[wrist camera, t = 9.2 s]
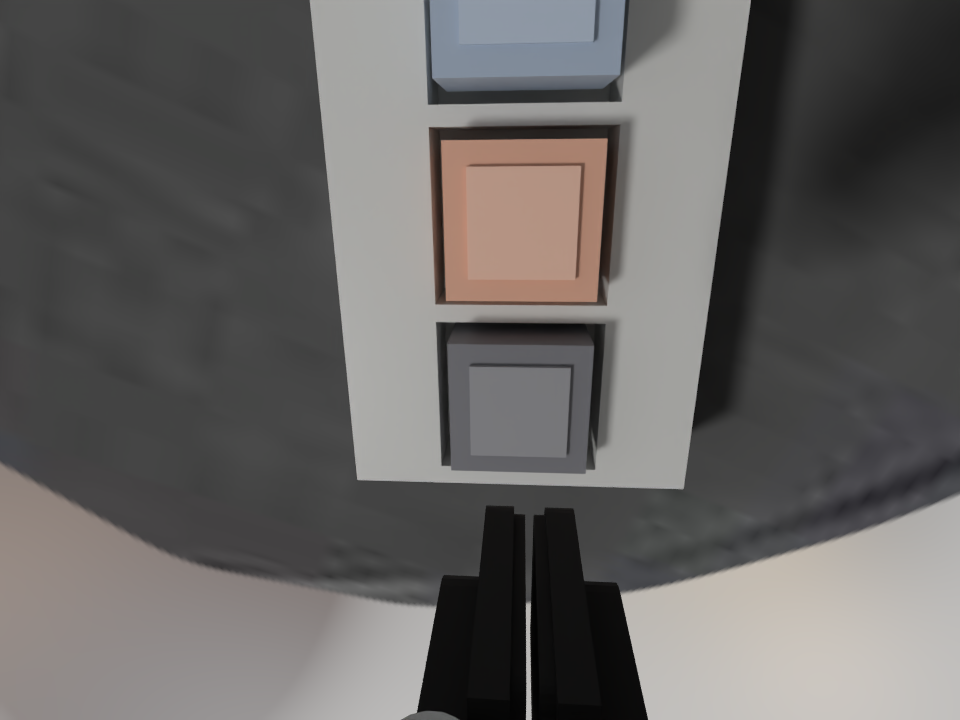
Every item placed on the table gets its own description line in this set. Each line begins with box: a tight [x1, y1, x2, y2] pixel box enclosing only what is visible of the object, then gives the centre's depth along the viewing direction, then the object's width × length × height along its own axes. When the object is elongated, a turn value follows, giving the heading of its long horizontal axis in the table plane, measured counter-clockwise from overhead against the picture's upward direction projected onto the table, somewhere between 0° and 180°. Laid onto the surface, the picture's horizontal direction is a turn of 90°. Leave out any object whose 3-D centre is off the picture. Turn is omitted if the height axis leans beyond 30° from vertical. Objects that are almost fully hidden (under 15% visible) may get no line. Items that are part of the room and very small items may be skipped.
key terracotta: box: [441, 138, 608, 302], centre depth 17 cm, size 5×5×3 cm
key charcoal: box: [447, 322, 594, 474], centre depth 19 cm, size 5×5×3 cm
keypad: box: [310, 0, 751, 489], centre depth 18 cm, size 12×25×3 cm, turn 0°
